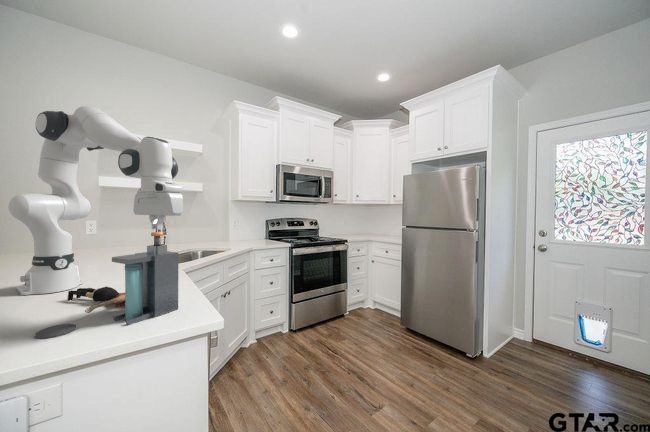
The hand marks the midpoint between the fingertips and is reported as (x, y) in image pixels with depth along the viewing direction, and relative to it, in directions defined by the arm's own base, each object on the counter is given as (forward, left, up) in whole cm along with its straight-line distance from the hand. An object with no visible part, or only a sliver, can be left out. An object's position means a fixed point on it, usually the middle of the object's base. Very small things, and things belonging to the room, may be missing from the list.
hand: (157, 229), depth 89 cm
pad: (-9, -22, -27) cm, 36 cm away
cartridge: (0, -7, -27) cm, 28 cm away
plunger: (0, 0, -6) cm, 6 cm away
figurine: (-23, -3, -28) cm, 36 cm away
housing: (0, -4, -27) cm, 27 cm away
